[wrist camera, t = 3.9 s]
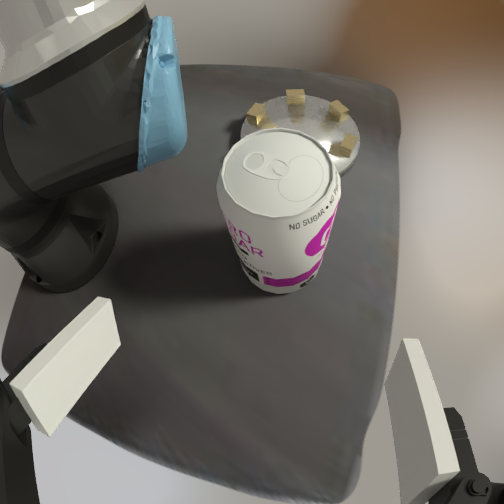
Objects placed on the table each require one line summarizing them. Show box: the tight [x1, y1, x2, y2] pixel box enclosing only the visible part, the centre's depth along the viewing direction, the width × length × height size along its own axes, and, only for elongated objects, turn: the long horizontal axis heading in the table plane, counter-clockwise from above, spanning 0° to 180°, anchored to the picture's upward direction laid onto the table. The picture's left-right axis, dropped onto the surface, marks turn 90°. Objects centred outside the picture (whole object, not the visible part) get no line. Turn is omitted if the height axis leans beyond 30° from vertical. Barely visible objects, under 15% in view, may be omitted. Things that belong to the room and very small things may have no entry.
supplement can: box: [216, 128, 341, 294], centre depth 26 cm, size 8×8×15 cm
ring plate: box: [241, 89, 360, 177], centre depth 37 cm, size 15×15×3 cm
